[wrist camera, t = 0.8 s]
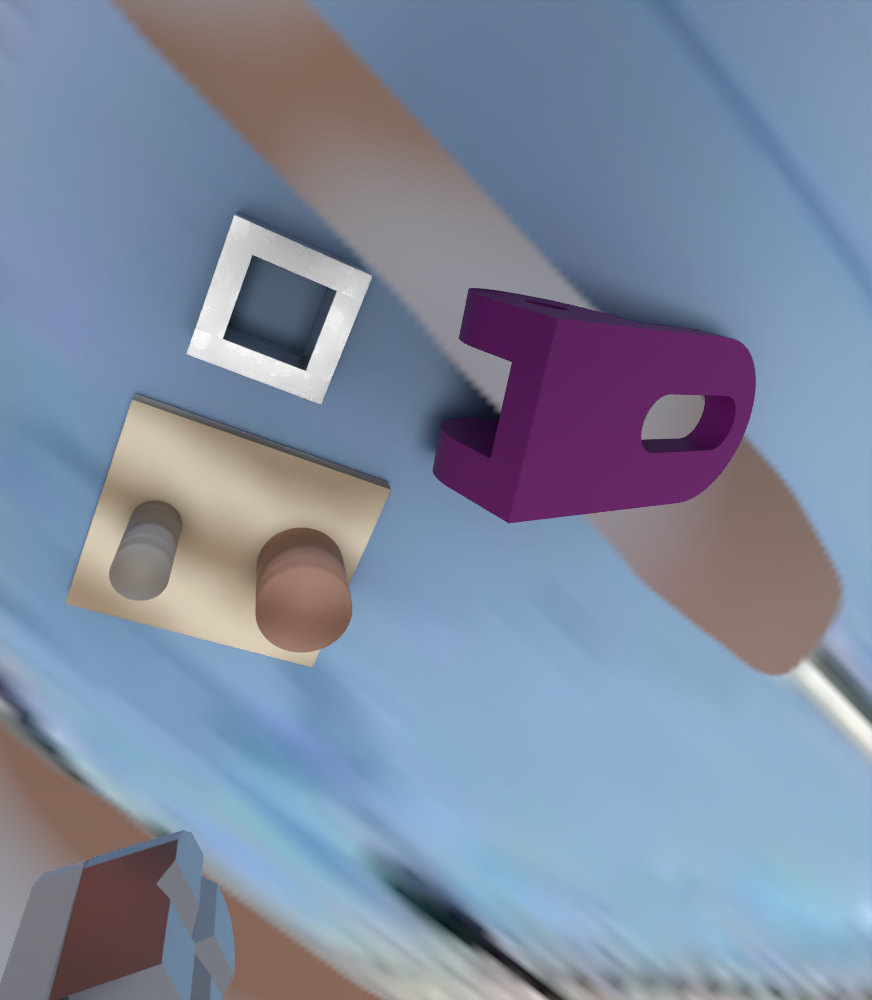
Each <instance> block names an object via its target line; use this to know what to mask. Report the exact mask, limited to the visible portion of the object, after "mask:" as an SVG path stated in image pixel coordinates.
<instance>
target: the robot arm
mask: <svg viewBox="0 0 872 1000" xmlns="http://www.w3.org/2000/svg"><path fill="white" fill-rule="evenodd" d="M202 863H203V853H202V851H201V849H200V848H199V846H198V844H197V842H196V840H195V838H194V836H193V834H192V833H191V832H188V831H184V830H183V831H179V832H176V833H173V834H169V835H166V836H163V837H159V838H156V839H153V840H149V841H146V842H143V843H139V844H136V845H133V846H130V847H126V848H123V849H119V850H116V851H113V852H109V853H106V854H103V855H99V856H96V857H93V858H91V860H86V861H82V862H79V863H76V864H72V865H69V866H66V867H62V868H59V869H56V870H52V871H49V872H46V873H44V874H43V875H42V876H41V877H40V878H39V879H38V880H37V881H36V882H35V884H34V885H33V887H32V889H31V892H30V895H29V898H28V901H27V904H26V907H25V910H24V913H23V916H22V919H21V922H20V925H19V928H18V931H17V934H16V937H15V941H14V943H13V946H12V949H11V952H10V955H9V958H8V961H7V964H6V967H5V970H4V973H3V976H2V979H1V982H0V1000H223V998H222V995H223V993H224V992H225V990H226V989H227V987H228V985H229V983H230V982H231V980H232V979H233V977H234V958H235V957H234V954H235V949H234V941H233V933H232V925H231V919H230V916H229V913H228V909H227V906H226V903H225V899H224V897H223V895H222V893H221V891H220V889H219V886H218V884H217V883H215V882H213V881H211V880H209V879H206V878H204V877H202V876H201V875H202Z"/></svg>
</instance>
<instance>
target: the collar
mask: <svg viewBox="0 0 872 1000" xmlns="http://www.w3.org/2000/svg"><path fill="white" fill-rule="evenodd" d="M252 255H254V256H257V257H259V258H261V259H264V260H266V261H268V262H271V263H273V264H275V265H278V266H280V267H282V268H285V269H287V270H289V271H292V272H294V273H296V274H299V275H301V276H303V277H306V278H308V279H310V280H313V281H315V282H317V283H320V284H322V285H324V286H327V287H328V289H327V291H326V294H325V296H324V299H323V302H322V304H321V307H320V309H319V312H318V314H317V317H316V320H315V322H314V325H313V327H312V330H311V333H310V335H309V338H308V340H307V343H306V345H305V348H304V351H303V353H302V354H301V353H298V352H296V351H293V350H291V349H288V348H285V347H283V346H280V345H278V344H275V343H273V342H270V341H268V340H265V339H263V338H260V337H258V336H255V335H253V334H250V333H247V332H245V331H242V330H240V329H237V328H235V327H232V326H230V325H228V322H229V320H230V317H231V314H232V311H233V308H234V306H235V303H236V300H237V297H238V294H239V291H240V289H241V286H242V283H243V280H244V277H245V275H246V272H247V269H248V266H249V263H250V261H251V258H252ZM371 279H372V275H371V274H370V273H368V272H367V271H366V270H365V269H364V268H363V267H361V266H358V265H356V264H354V263H352V262H349V261H347V260H345V259H343V258H340V257H338V256H336V255H334V254H331V253H329V252H327V251H325V250H322V249H320V248H318V247H316V246H313V245H311V244H309V243H307V242H304V241H302V240H300V239H298V238H295V237H293V236H291V235H289V234H286V233H284V232H282V231H280V230H277V229H275V228H273V227H271V226H268V225H266V224H264V223H262V222H259V221H257V220H255V219H253V218H250V217H248V216H246V215H244V214H241V213H239V212H237V213H236V214H235V215H234V218H233V221H232V223H231V226H230V229H229V232H228V235H227V238H226V241H225V244H224V247H223V250H222V253H221V255H220V258H219V261H218V264H217V267H216V270H215V273H214V276H213V279H212V282H211V285H210V287H209V290H208V293H207V296H206V299H205V302H204V305H203V308H202V311H201V314H200V316H199V319H198V322H197V325H196V328H195V331H194V334H193V337H192V340H191V343H190V346H189V348H188V351H187V354H188V355H191V356H193V357H196V358H199V359H201V360H204V361H207V362H209V363H212V364H215V365H217V366H220V367H223V368H225V369H228V370H231V371H233V372H236V373H239V374H241V375H244V376H247V377H249V378H252V379H255V380H257V381H260V382H263V383H265V384H268V385H270V386H273V387H276V388H278V389H281V390H284V391H286V392H289V393H292V394H294V395H297V396H300V397H302V398H305V399H308V400H310V401H313V402H316V403H318V404H321V403H322V401H323V398H324V396H325V393H326V391H327V388H328V386H329V383H330V381H331V378H332V376H333V373H334V371H335V368H336V366H337V363H338V361H339V358H340V356H341V353H342V351H343V348H344V346H345V343H346V341H347V338H348V336H349V333H350V331H351V328H352V326H353V323H354V321H355V319H356V316H357V314H358V311H359V309H360V306H361V304H362V301H363V299H364V296H365V294H366V291H367V289H368V286H369V284H370V281H371Z"/></svg>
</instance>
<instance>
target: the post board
mask: <svg viewBox="0 0 872 1000" xmlns="http://www.w3.org/2000/svg"><path fill="white" fill-rule="evenodd" d="M390 491H391V489H390V486H389V484H388V482H386V481H383V480H380V479H377V478H375V477H372V476H369V475H366V474H363V473H360V472H358V471H355V470H352V469H349V468H346V467H343V466H340V465H338V464H335V463H332V462H329V461H326V460H323V459H321V458H318V457H315V456H312V455H309V454H306V453H304V452H301V451H298V450H295V449H292V448H289V447H286V446H284V445H281V444H278V443H275V442H272V441H269V440H267V439H264V438H261V437H258V436H255V435H252V434H249V433H247V432H244V431H241V430H238V429H235V428H232V427H230V426H227V425H224V424H221V423H218V422H215V421H213V420H210V419H207V418H204V417H201V416H198V415H195V414H193V413H190V412H187V411H184V410H181V409H178V408H176V407H173V406H170V405H167V404H164V403H161V402H159V401H156V400H153V399H150V398H147V397H144V396H141V395H139V394H135V396H134V398H133V399H132V402H131V405H130V408H129V411H128V414H127V417H126V420H125V423H124V426H123V429H122V432H121V435H120V438H119V441H118V444H117V448H116V451H115V454H114V457H113V460H112V463H111V466H110V469H109V472H108V475H107V478H106V481H105V484H104V487H103V490H102V493H101V496H100V499H99V502H98V505H97V508H96V511H95V514H94V517H93V520H92V523H91V526H90V529H89V533H88V536H87V539H86V542H85V545H84V548H83V551H82V554H81V557H80V560H79V563H78V566H77V569H76V572H75V575H74V578H73V581H72V584H71V587H70V590H69V593H68V596H67V599H66V602H65V604H69V605H73V606H77V607H81V608H85V609H89V610H92V611H96V612H100V613H104V614H108V615H112V616H116V617H120V618H123V619H127V620H131V621H135V622H139V623H143V624H147V625H150V626H154V627H158V628H162V629H166V630H170V631H174V632H178V633H181V634H185V635H189V636H193V637H197V638H201V639H205V640H208V641H212V642H216V643H220V644H224V645H228V646H232V647H236V648H239V649H243V650H247V651H251V652H255V653H259V654H263V655H267V656H270V657H274V658H278V659H282V660H286V661H290V662H294V663H297V664H301V665H305V666H309V667H313V665H314V662H315V660H316V658H317V656H318V653H319V651H320V649H322V648H325V647H327V646H329V645H330V644H332V643H333V642H335V641H336V640H337V639H338V638H339V637H340V636H341V635H342V634H343V633H344V631H345V630H346V629H347V627H348V625H349V622H350V620H351V616H352V601H351V596H350V591H349V583H350V581H351V579H352V577H353V574H354V572H355V570H356V568H357V565H358V563H359V561H360V559H361V556H362V554H363V552H364V549H365V547H366V545H367V543H368V540H369V538H370V536H371V534H372V531H373V529H374V527H375V525H376V522H377V520H378V518H379V516H380V513H381V511H382V509H383V507H384V504H385V502H386V500H387V498H388V495H389V493H390Z"/></svg>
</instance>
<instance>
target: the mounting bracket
mask: <svg viewBox="0 0 872 1000" xmlns="http://www.w3.org/2000/svg"><path fill="white" fill-rule="evenodd" d="M459 339H460V340H461V341H462V342H464V343H465V344H467V345H469V346H472V347H474V348H477V349H479V350H482V351H484V352H487V353H490V354H492V355H495V356H498V357H500V358H503V359H506V360H508V361H511V362H512V365H511V370H510V374H509V378H508V383H507V387H506V392H505V396H504V401H503V405H502V410H501V414H500V418H499V421H494V420H487V419H480V418H454V419H450V420H447V421H445V422H443V423H442V425H441V430H440V435H439V440H438V445H437V450H436V456H435V461H434V466H433V473H434V475H435V476H436V478H437V479H438V480H439V481H441V482H442V483H443V484H445V485H446V486H448V487H449V488H451V489H453V490H454V491H456V492H458V493H459V494H461V495H463V496H464V497H466V498H468V499H469V500H471V501H473V502H474V503H476V504H478V505H479V506H481V507H483V508H484V509H486V510H488V511H489V512H491V513H493V514H494V515H496V516H498V517H499V518H501V519H503V520H504V521H506V522H508V523H514V522H522V521H530V520H539V519H547V518H556V517H564V516H572V515H581V514H589V513H597V512H606V511H613V510H623V509H631V508H639V507H647V506H656V505H664V504H673V503H680V502H684V501H687V500H689V499H691V498H693V497H695V496H697V495H698V494H700V493H701V492H702V491H704V490H705V489H706V488H707V487H708V486H710V485H711V484H712V483H713V482H714V481H715V480H716V478H717V477H718V476H719V475H720V474H721V473H722V471H723V470H724V469H725V467H726V466H727V464H728V463H729V461H730V460H731V458H732V456H733V455H734V453H735V452H736V450H737V448H738V446H739V444H740V442H741V440H742V438H743V435H744V433H745V430H746V428H747V425H748V422H749V419H750V415H751V412H752V407H753V403H754V396H755V387H756V377H755V368H754V363H753V360H752V357H751V355H750V353H749V351H748V349H747V348H746V347H745V346H744V345H743V344H742V343H741V342H739V341H737V340H735V339H731V338H728V337H724V336H720V335H717V334H713V333H709V332H705V331H701V330H697V329H689V328H681V327H672V326H664V325H656V324H648V323H640V322H635V321H630V320H626V319H622V318H619V317H615V316H611V315H608V314H604V313H601V312H597V311H593V310H590V309H586V308H582V307H578V306H573V305H569V304H564V303H560V302H556V301H551V300H546V299H542V298H536V297H532V296H527V295H521V294H515V293H510V292H503V291H497V290H489V289H480V288H470V289H469V290H468V295H467V300H466V306H465V311H464V316H463V320H462V325H461V330H460V335H459ZM668 394H680V395H705V406H704V411H703V414H702V417H701V419H700V421H699V423H698V424H697V426H696V427H695V429H694V430H693V431H692V432H691V433H690V434H689V435H687V436H686V437H684V438H680V439H651V440H641V431H642V426H643V422H644V419H645V417H646V415H647V413H648V411H649V410H650V408H651V407H652V406H653V404H654V403H655V402H656V401H657V400H658V399H660V398H661V397H663V396H665V395H668Z"/></svg>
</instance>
